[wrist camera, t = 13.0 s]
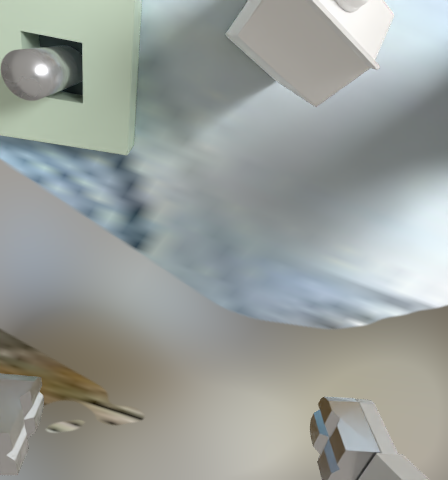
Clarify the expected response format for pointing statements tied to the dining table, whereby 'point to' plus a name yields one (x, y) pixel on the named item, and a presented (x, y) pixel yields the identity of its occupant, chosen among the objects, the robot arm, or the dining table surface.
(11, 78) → the tall pin
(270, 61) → the milk carton
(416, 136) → the dining table surface
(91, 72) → the socket block
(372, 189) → the dining table surface
